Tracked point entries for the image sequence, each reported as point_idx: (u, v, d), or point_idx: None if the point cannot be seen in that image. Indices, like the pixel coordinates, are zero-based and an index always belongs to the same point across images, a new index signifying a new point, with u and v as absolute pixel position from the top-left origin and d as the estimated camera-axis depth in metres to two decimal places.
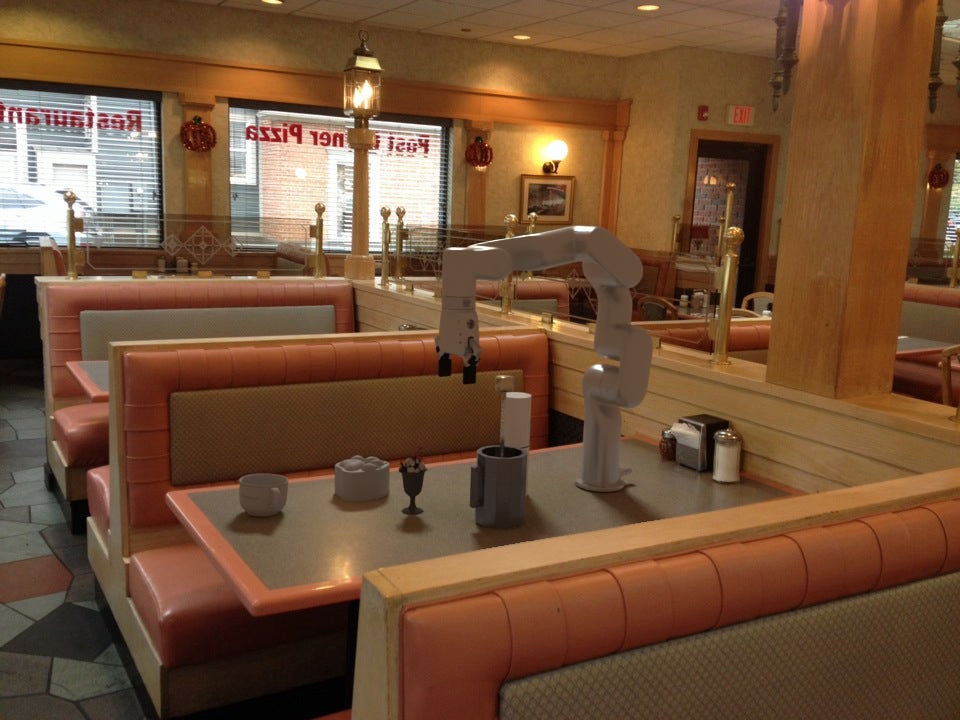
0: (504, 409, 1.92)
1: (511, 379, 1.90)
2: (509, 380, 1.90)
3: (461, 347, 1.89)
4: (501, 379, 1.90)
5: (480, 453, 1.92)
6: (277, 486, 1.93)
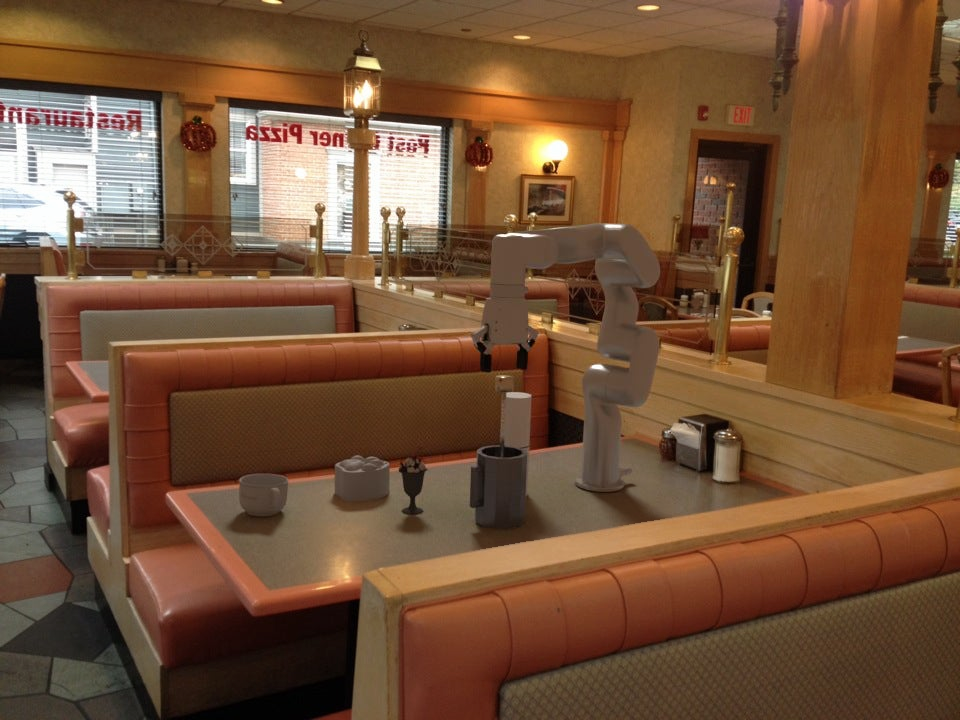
0: (504, 409, 1.92)
1: (511, 379, 1.90)
2: (509, 380, 1.90)
3: (527, 333, 1.90)
4: (501, 379, 1.90)
5: (480, 453, 1.92)
6: (277, 486, 1.93)
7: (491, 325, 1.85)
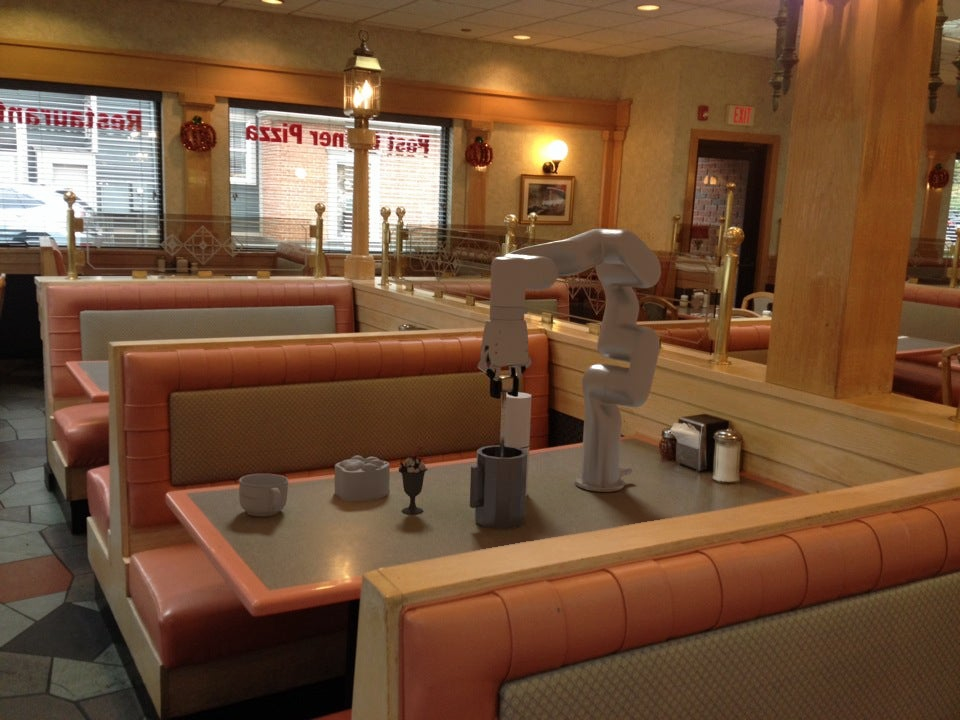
0: (504, 409, 1.92)
1: (511, 379, 1.90)
2: (509, 380, 1.90)
3: (527, 354, 1.91)
4: (501, 379, 1.90)
5: (480, 453, 1.92)
6: (277, 486, 1.93)
7: (491, 347, 1.86)
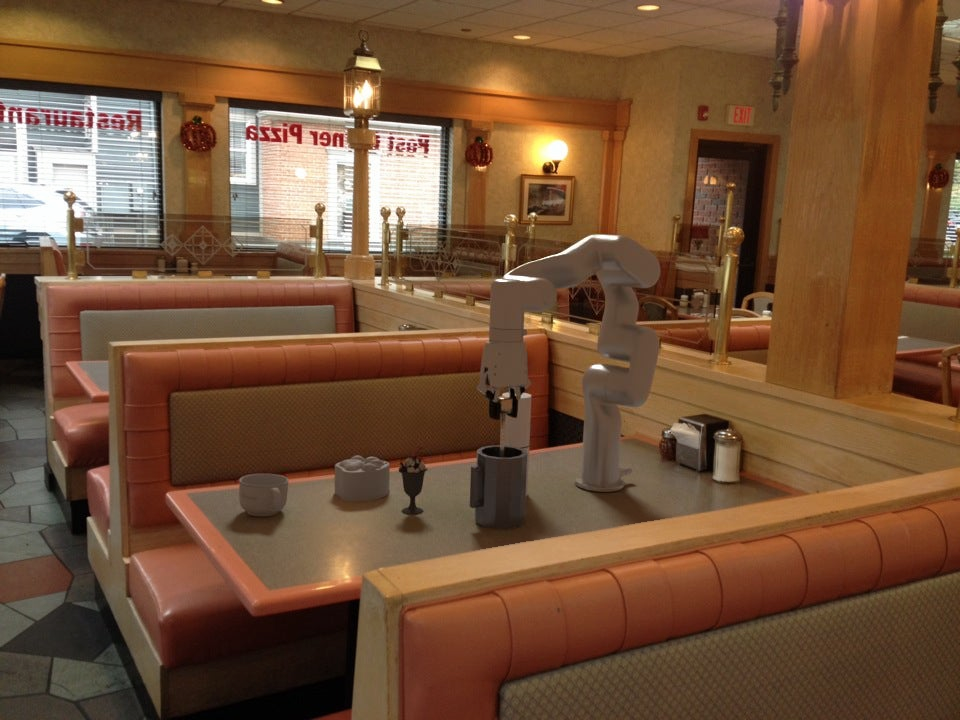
0: (503, 430, 1.93)
1: (510, 400, 1.91)
2: (508, 401, 1.91)
3: (526, 376, 1.92)
4: (500, 400, 1.90)
5: (480, 453, 1.92)
6: (277, 486, 1.93)
7: (490, 369, 1.87)
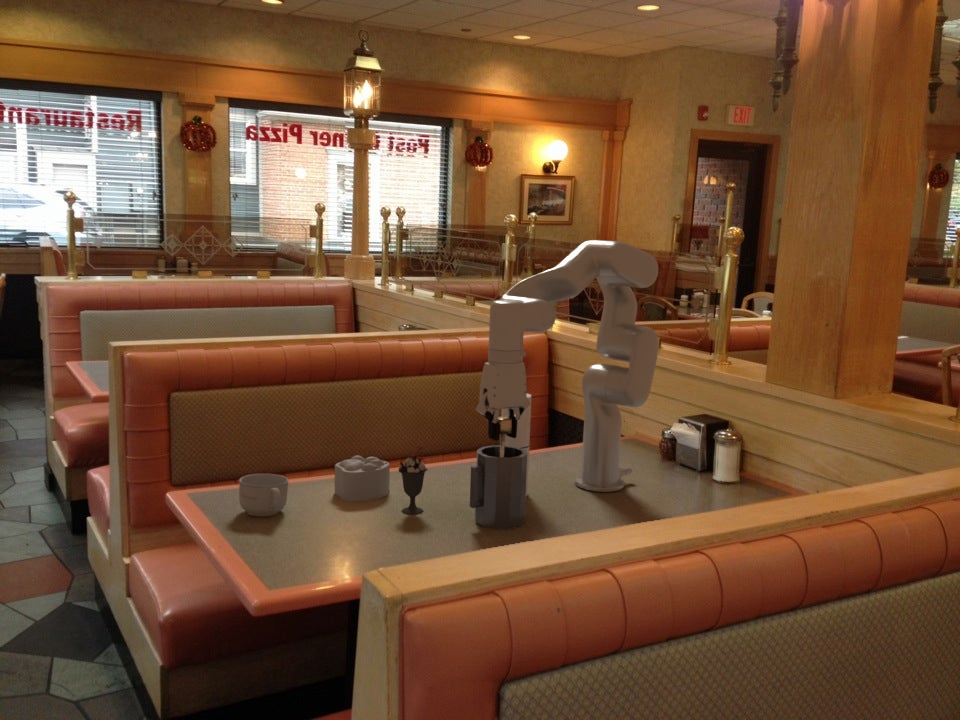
0: (502, 450, 1.94)
1: (509, 421, 1.92)
2: (507, 422, 1.91)
3: (525, 396, 1.93)
4: (499, 421, 1.91)
5: (480, 453, 1.92)
6: (277, 486, 1.93)
7: (490, 390, 1.88)
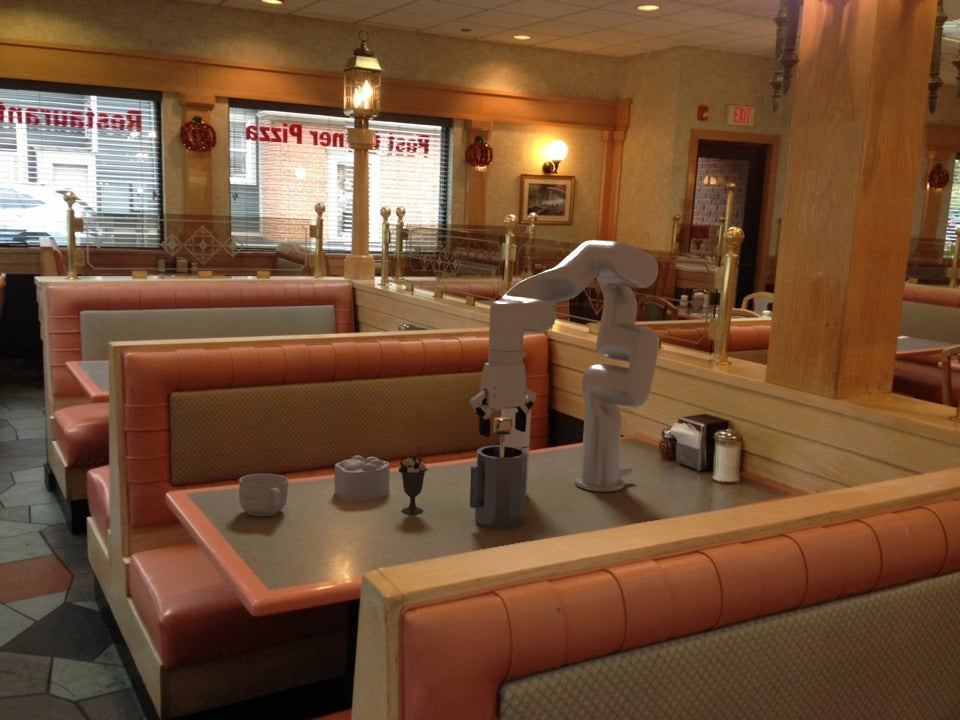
0: (502, 451, 1.94)
1: (509, 422, 1.92)
2: (507, 423, 1.91)
3: (525, 397, 1.93)
4: (499, 422, 1.91)
5: (480, 453, 1.92)
6: (277, 486, 1.93)
7: (490, 391, 1.88)
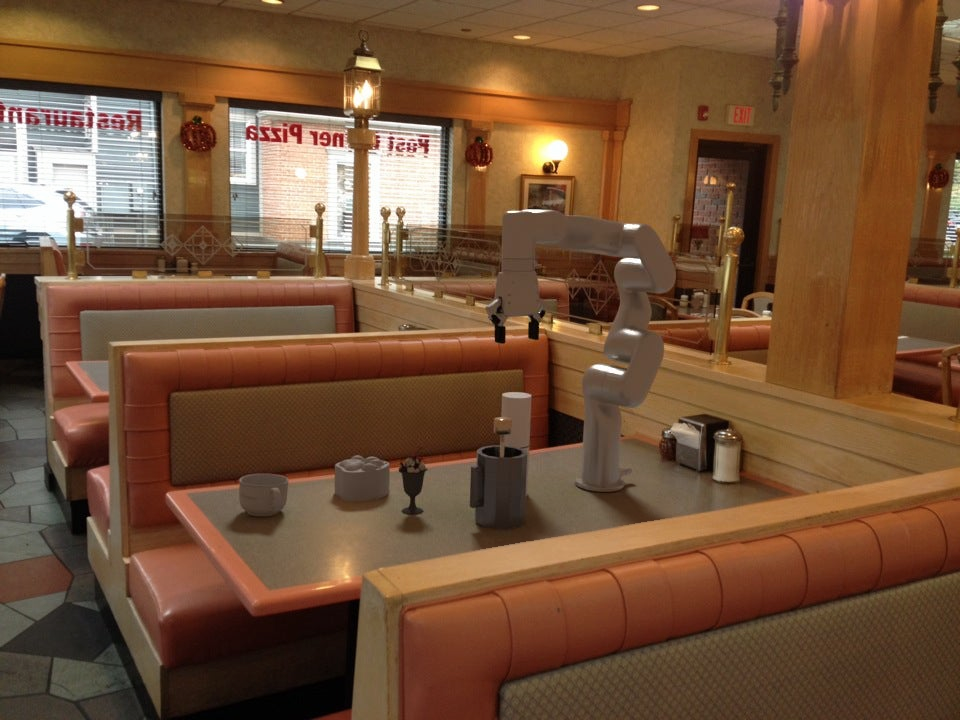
0: (502, 451, 1.94)
1: (509, 422, 1.92)
2: (507, 423, 1.91)
3: (538, 305, 1.99)
4: (499, 422, 1.91)
5: (480, 453, 1.92)
6: (277, 486, 1.93)
7: (504, 298, 1.94)
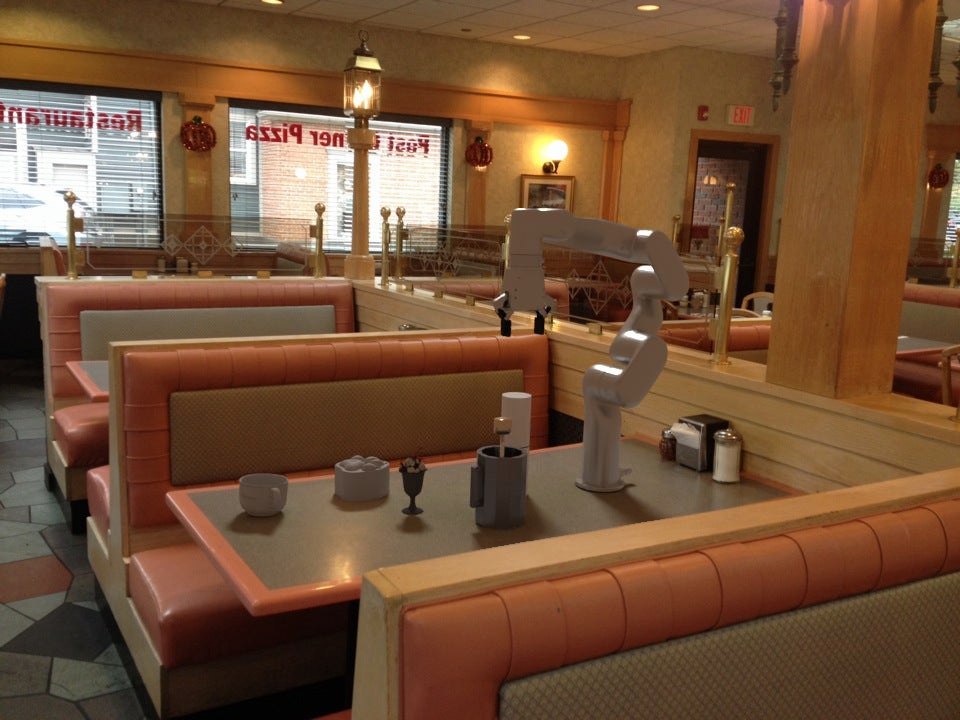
0: (502, 451, 1.94)
1: (509, 422, 1.92)
2: (507, 423, 1.91)
3: (544, 301, 2.05)
4: (499, 422, 1.91)
5: (480, 453, 1.92)
6: (277, 486, 1.93)
7: (511, 293, 1.99)
